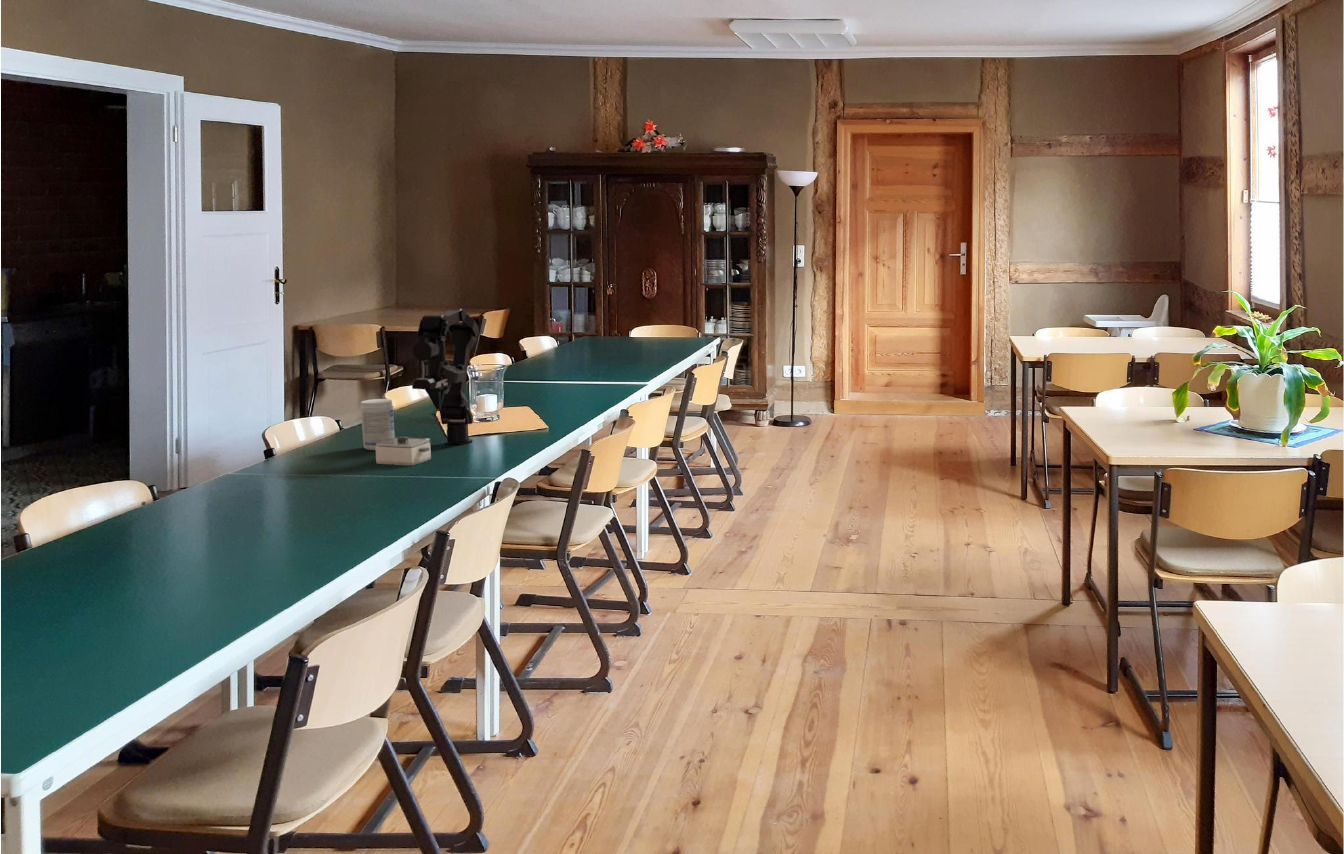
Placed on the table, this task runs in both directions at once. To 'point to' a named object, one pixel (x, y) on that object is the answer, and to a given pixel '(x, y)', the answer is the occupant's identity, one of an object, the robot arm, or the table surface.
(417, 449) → the pot
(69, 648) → the table surface
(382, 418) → the supplement tub
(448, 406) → the robot arm
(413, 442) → the lid
